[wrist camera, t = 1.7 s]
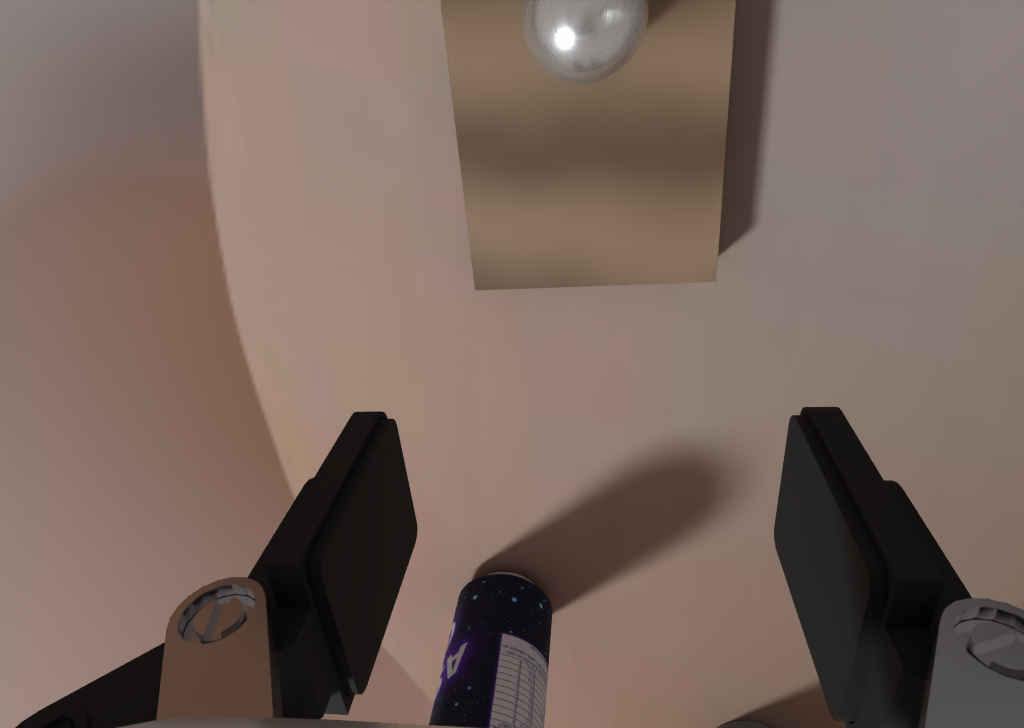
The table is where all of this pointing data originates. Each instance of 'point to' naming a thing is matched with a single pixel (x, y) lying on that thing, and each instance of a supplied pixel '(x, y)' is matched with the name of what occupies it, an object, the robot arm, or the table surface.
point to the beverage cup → (744, 724)
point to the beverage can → (496, 656)
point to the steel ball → (583, 36)
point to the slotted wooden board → (592, 151)
